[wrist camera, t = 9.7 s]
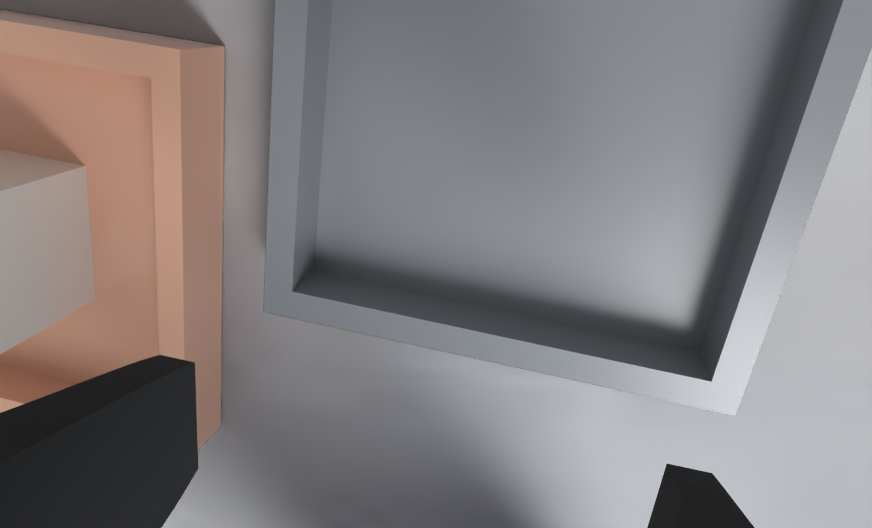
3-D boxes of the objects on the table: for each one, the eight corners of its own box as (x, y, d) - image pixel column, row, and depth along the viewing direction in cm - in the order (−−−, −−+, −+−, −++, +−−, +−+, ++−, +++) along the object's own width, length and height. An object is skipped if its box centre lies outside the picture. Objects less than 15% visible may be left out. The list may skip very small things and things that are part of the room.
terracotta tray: (220, 425, 22) (185, 465, 20) (-92, 347, 24) (-153, 377, 22) (224, 46, 18) (180, 49, 16) (-165, -18, 19) (-251, -22, 17)
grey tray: (716, 372, 18) (735, 415, 16) (295, 282, 20) (263, 311, 18) (896, -146, 13) (954, -176, 11) (322, -206, 15) (284, -241, 13)
